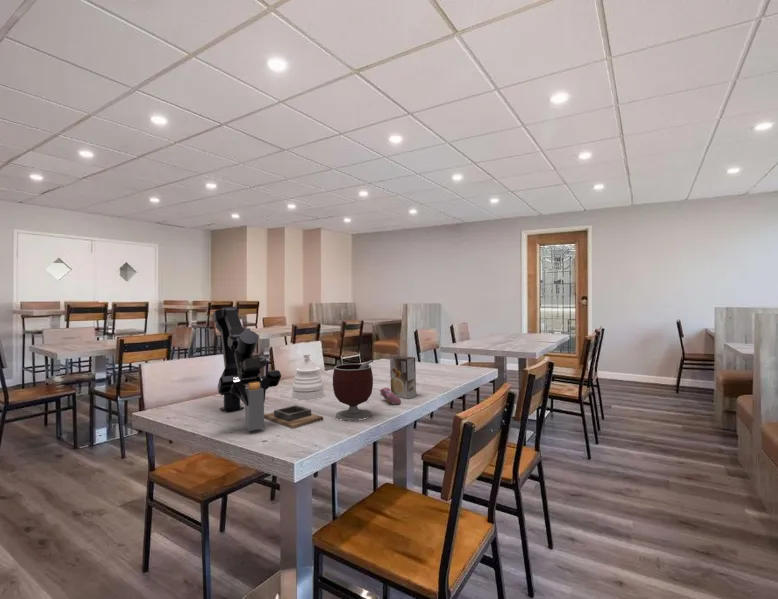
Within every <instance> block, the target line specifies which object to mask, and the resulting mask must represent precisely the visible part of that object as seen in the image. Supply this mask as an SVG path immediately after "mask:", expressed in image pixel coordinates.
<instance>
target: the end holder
mask: <svg viewBox="0 0 778 599" xmlns="http://www.w3.org/2000/svg"><path fill="white" fill-rule="evenodd" d="M265 418H266V420H268V421H271V422H273V423H277V424H278V425H282V426H285V427H288V428H290V429H296V427H297V428H299V426H300V427H304V426H306V424H307V425H310V423H311V424H313V422H314V423H317V422H316V421H318V422H320V420H321V421H324V417H323V416H322V415H319V414H315V413H312V409H311V408H307V407H303V406H301V405H298V404H296V405H291V406H287V407H282V408H279V409H274V410H273V412H270V413H264V419H265ZM303 425H304V426H303Z"/></svg>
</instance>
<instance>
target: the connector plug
mask: <svg viewBox="0 0 778 599" xmlns="http://www.w3.org/2000/svg"><path fill="white" fill-rule="evenodd" d="M245 393H246V396H247V399H248V406H246V405H245V404H244V405H245V406H244V411H245V414H244V415H245V416H244V417H245V420H244V421H245V428H246V429H247V430H248V431H251V432H252V431H256V430H261V429H265V418H264V415H265V402H264V389H262V388H261V387H260V382H258V381H254V382H249V385H248V387H247V388H246V387H245Z"/></svg>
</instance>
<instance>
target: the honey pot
mask: <svg viewBox="0 0 778 599" xmlns="http://www.w3.org/2000/svg"><path fill="white" fill-rule="evenodd" d="M320 371H321V367H320V366H317V364H316V362H315V361H314V360H313V359H312V357H311V356H310V353H304V354H303V359H302V361H301V362H300V364H299V366H298V367H297V368H296V369H295V372H296V374H295V376H294V379H293V383H292V387H291V388H292V390H291V391H292V397H293V398H294V399H298V400H297V401H300V400H309V401H311V400H310V399H316V400H318V399H317V398H320V397H323V396H325V391H324V390H325V388H324V387H325V386H324V382H323V378H322V375H321V374H320ZM293 398H292V399H293ZM323 398H324V397H323ZM294 399H293V400H294ZM320 399H321V398H320Z"/></svg>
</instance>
